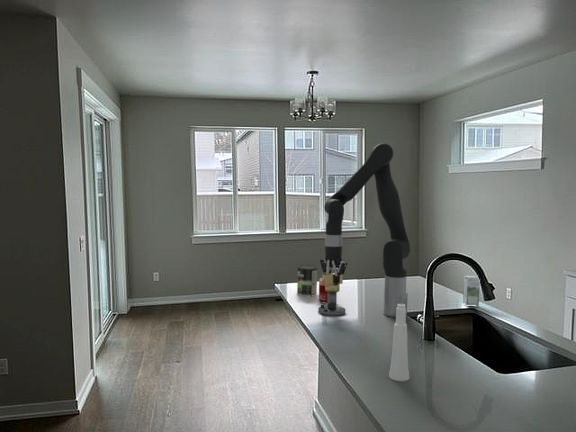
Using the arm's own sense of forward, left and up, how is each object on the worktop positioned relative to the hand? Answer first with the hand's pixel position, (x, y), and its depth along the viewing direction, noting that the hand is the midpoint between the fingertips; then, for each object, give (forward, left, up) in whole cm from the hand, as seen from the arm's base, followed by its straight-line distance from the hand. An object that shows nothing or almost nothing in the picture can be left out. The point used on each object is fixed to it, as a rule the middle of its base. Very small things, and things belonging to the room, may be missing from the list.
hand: (333, 283), depth 205 cm
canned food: (+12, -15, -13) cm, 23 cm away
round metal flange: (0, 0, -13) cm, 13 cm away
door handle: (+1, +1, -3) cm, 3 cm away
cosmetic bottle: (-52, +46, -13) cm, 71 cm away
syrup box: (-45, -52, -13) cm, 70 cm away
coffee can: (+28, -21, -13) cm, 37 cm away
